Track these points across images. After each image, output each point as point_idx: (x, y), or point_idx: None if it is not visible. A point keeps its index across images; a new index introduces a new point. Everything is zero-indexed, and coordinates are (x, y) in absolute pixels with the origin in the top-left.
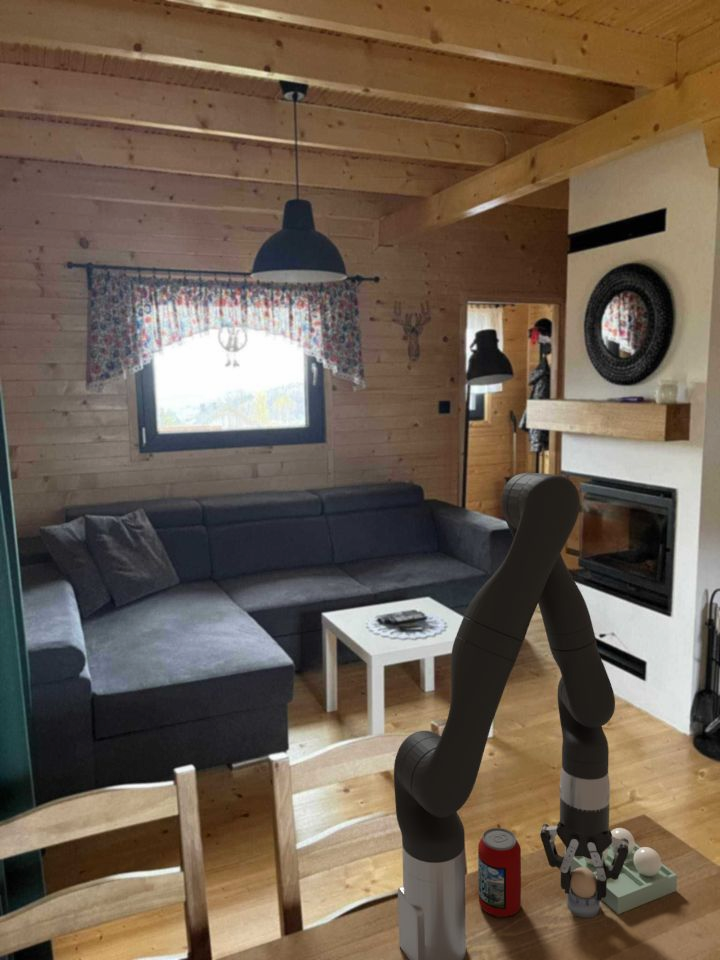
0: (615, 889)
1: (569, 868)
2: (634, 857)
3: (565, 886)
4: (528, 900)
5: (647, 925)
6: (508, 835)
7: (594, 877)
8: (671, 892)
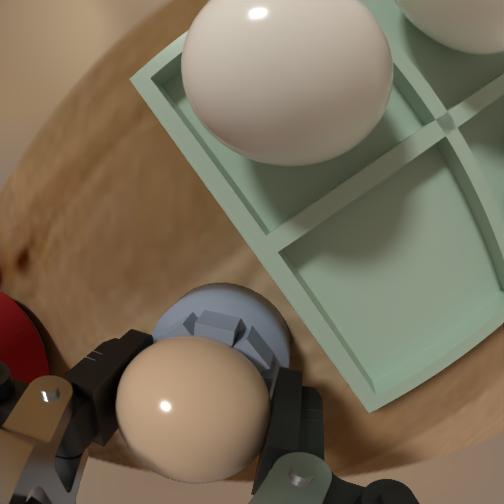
0: (380, 313)
1: (92, 410)
2: None
3: None
4: (62, 318)
5: (437, 392)
6: None
7: (241, 465)
8: None
